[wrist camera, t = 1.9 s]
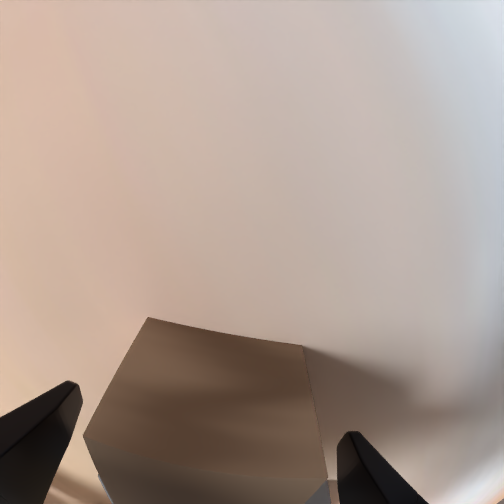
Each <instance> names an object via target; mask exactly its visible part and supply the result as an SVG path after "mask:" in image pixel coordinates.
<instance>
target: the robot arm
mask: <svg viewBox="0 0 504 504" xmlns="http://www.w3.org/2000/svg"><path fill="white" fill-rule="evenodd" d="M82 404H83V399H82V395H81V391H80V387H79V385H78V384H77V383H74V382H72V381H65V382H63V383H62V384H60V385H58V386H56V387H54V388H53V389H51V390H49V391H47V392H46V393H44V394H42V395H40V396H38V397H37V398H35V399H33V400H31V401H29V402H27V403H26V404H24V405H22V406H20V407H18V408H17V409H15V410H13V411H11V412H9V413H7V414H6V415H4V416H2V417H0V504H43V503H44V500H45V498H46V495H47V493H48V490H49V488H50V485H51V483H52V481H53V478H54V476H55V474H56V471H57V469H58V467H59V464H60V462H61V460H62V458H63V455H64V453H65V451H66V449H67V447H68V445H69V442H70V440H71V437H72V434H73V431H74V428H75V425H76V422H77V419H78V416H79V413H80V410H81V407H82ZM337 484H338V493H339V500H340V504H429V503H428V502H426V501H425V500H424V499H423V498H422V497H421V496H420V495H419V494H418V493H417V492H416V491H415V490H414V489H413V488H412V487H411V486H410V485H409V484H408V483H407V482H406V481H405V480H404V479H403V478H402V477H401V475H400V474H399V473H398V472H397V471H396V470H395V469H394V468H393V467H392V466H391V465H390V464H389V463H388V462H387V461H386V460H385V459H384V458H383V457H382V456H381V455H380V454H379V453H378V451H377V450H376V449H375V448H374V447H373V446H372V445H371V444H370V443H369V442H368V441H367V440H366V439H365V438H364V436H363V435H362V434H361V433H360V432H358V431H348V432H346V433H345V435H344V436H343V438H342V439H341V441H340V442H339V443H338V446H337Z"/></svg>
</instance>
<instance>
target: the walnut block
mask: <svg viewBox="0 0 504 504" xmlns="http://www.w3.org/2000/svg"><path fill="white" fill-rule="evenodd" d="M83 438H84V440H85V443H86V445H87V448H88V450H89V453H90V455H91V458H92V460H93V462H94V465H95V467H96V469H97V471H98V473H99V476H100V478H101V480H102V482H103V484H104V486H105V488H106V490H107V492H108V494H109V496H110V498H111V500H112V502H113V503H114V504H304V503H305V502H306V501H307V500H308V499H309V498H310V497H311V496H312V495H313V494H314V493H315V492H316V491H317V490H318V489H319V487H320V486H321V485H322V484H323V483H324V482H325V481H326V480H327V478H328V475H327V469H326V463H325V458H324V453H323V447H322V442H321V437H320V432H319V426H318V421H317V416H316V411H315V406H314V401H313V396H312V391H311V386H310V382H309V377H308V372H307V367H306V363H305V358H304V353H303V349H302V345H295V344H288V343H281V342H274V341H267V340H261V339H255V338H249V337H243V336H237V335H231V334H226V333H220V332H215V331H210V330H205V329H200V328H195V327H190V326H185V325H180V324H176V323H171V322H167V321H162V320H158V319H154V318H150V317H148V318H147V319H146V321H145V323H144V325H143V326H142V328H141V330H140V331H139V333H138V335H137V336H136V338H135V340H134V342H133V343H132V345H131V347H130V349H129V350H128V352H127V354H126V356H125V357H124V359H123V361H122V363H121V365H120V366H119V368H118V370H117V372H116V374H115V375H114V377H113V379H112V381H111V383H110V384H109V386H108V388H107V390H106V392H105V394H104V396H103V397H102V399H101V401H100V403H99V405H98V407H97V409H96V411H95V413H94V415H93V417H92V418H91V420H90V422H89V424H88V426H87V428H86V430H85V432H84V434H83Z"/></svg>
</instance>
